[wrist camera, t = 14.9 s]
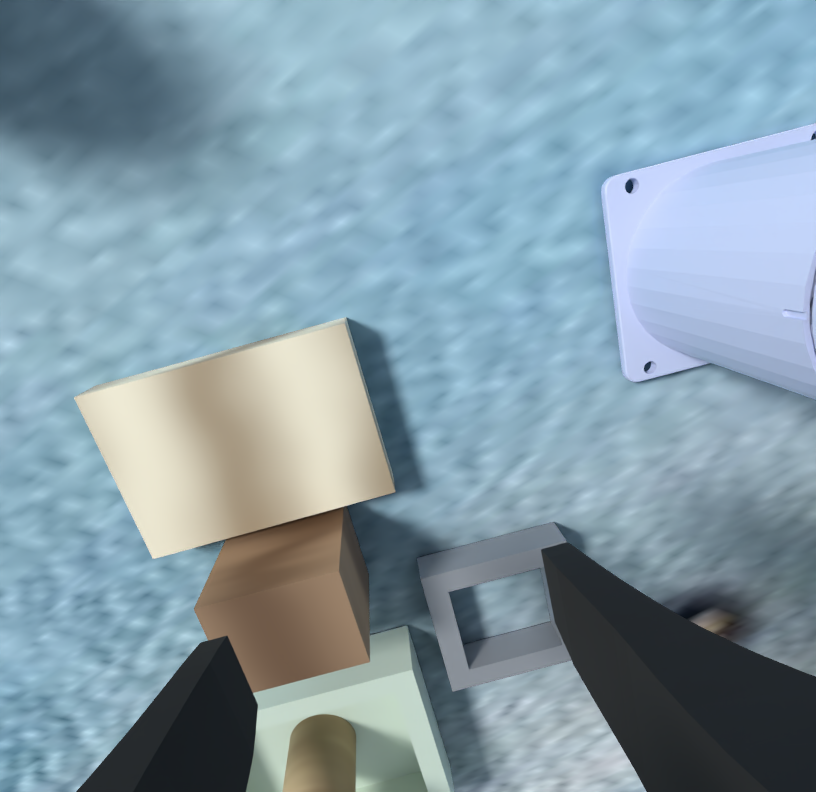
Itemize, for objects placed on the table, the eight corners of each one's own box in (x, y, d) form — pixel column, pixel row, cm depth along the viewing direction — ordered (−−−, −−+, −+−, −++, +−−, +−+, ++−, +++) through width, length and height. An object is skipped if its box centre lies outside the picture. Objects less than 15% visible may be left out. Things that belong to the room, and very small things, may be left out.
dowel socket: (553, 521, 23) (566, 540, 22) (573, 632, 25) (586, 656, 23) (417, 557, 23) (420, 578, 22) (447, 665, 25) (452, 691, 23)
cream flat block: (346, 315, 20) (344, 323, 18) (392, 470, 22) (395, 492, 20) (101, 382, 20) (73, 397, 18) (171, 531, 22) (153, 559, 20)
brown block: (344, 498, 22) (338, 571, 17) (368, 574, 23) (370, 662, 18) (231, 528, 22) (193, 608, 17) (261, 602, 23) (234, 697, 18)
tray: (407, 625, 24) (412, 669, 21) (450, 766, 27) (459, 819, 24) (181, 685, 24) (160, 736, 21) (248, 819, 27) (237, 878, 24)
